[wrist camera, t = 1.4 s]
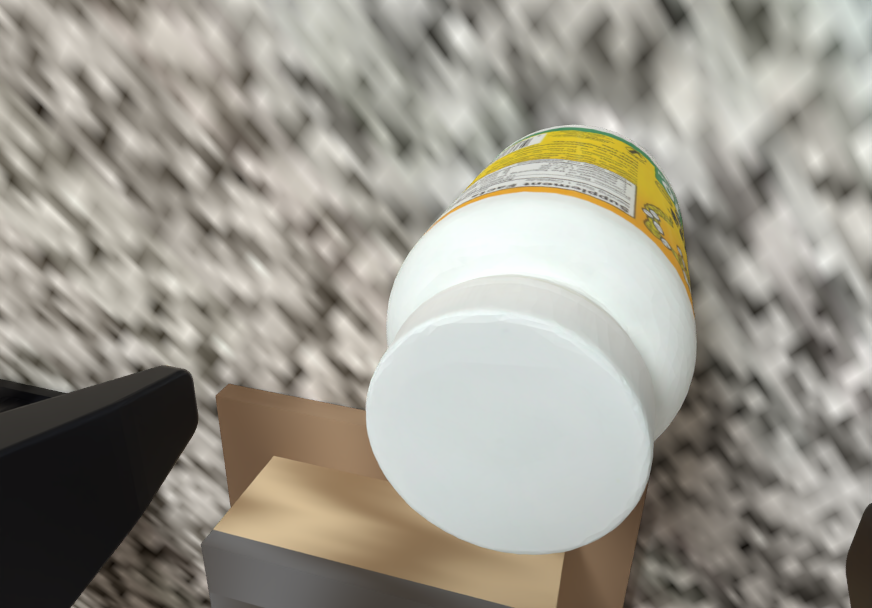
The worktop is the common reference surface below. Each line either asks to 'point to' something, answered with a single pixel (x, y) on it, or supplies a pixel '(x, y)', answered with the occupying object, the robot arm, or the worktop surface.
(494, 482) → the supplement bottle
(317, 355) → the worktop surface
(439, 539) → the socket
